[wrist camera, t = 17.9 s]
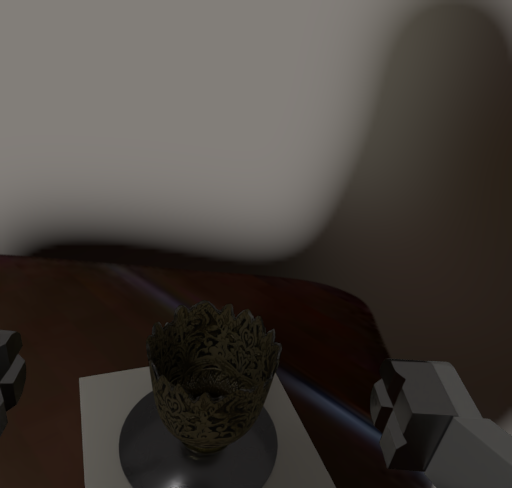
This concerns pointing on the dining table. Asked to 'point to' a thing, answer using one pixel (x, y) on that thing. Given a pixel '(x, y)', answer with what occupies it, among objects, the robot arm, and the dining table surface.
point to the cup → (211, 374)
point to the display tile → (176, 454)
